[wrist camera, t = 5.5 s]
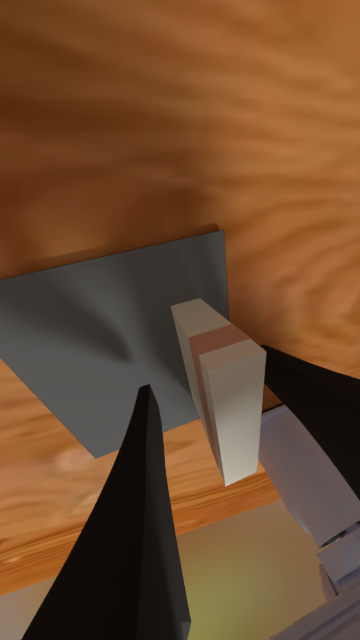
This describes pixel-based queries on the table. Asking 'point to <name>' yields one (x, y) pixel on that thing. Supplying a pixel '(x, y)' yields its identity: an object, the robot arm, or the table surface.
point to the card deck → (223, 385)
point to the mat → (110, 334)
